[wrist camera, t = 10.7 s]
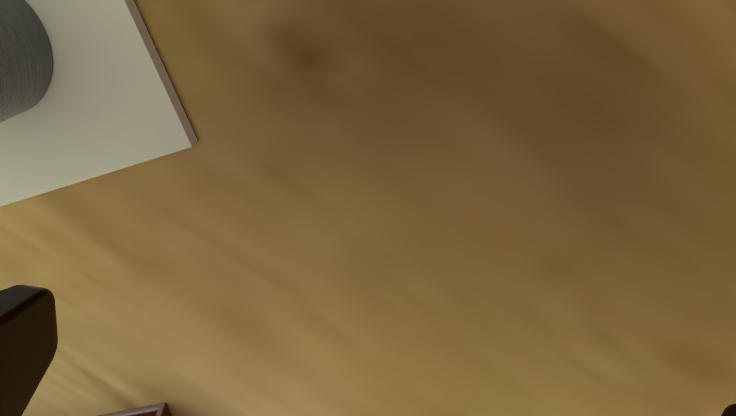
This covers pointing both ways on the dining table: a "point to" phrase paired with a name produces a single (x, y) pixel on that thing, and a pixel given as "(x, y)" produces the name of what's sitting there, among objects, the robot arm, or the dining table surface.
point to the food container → (144, 411)
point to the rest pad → (92, 102)
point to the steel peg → (22, 58)
